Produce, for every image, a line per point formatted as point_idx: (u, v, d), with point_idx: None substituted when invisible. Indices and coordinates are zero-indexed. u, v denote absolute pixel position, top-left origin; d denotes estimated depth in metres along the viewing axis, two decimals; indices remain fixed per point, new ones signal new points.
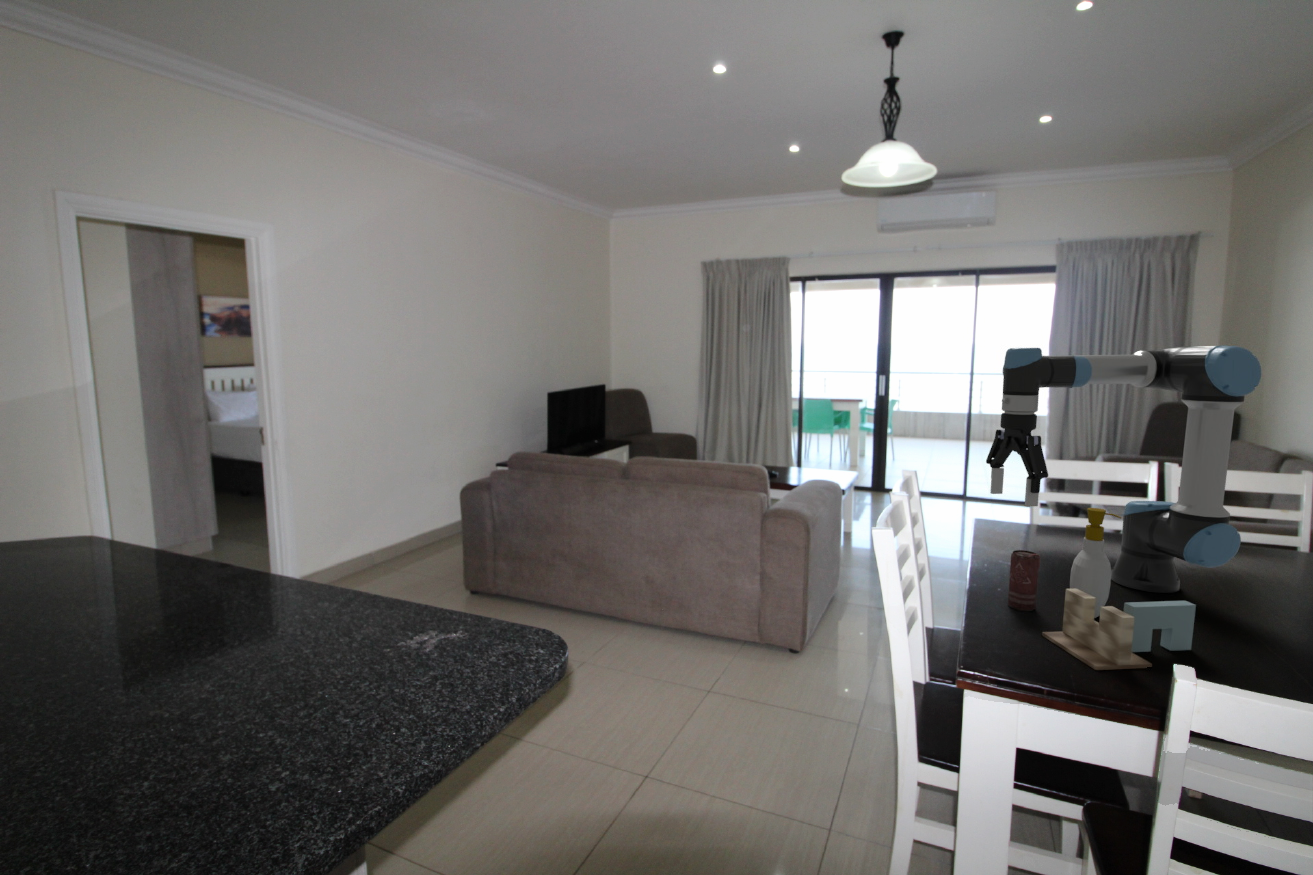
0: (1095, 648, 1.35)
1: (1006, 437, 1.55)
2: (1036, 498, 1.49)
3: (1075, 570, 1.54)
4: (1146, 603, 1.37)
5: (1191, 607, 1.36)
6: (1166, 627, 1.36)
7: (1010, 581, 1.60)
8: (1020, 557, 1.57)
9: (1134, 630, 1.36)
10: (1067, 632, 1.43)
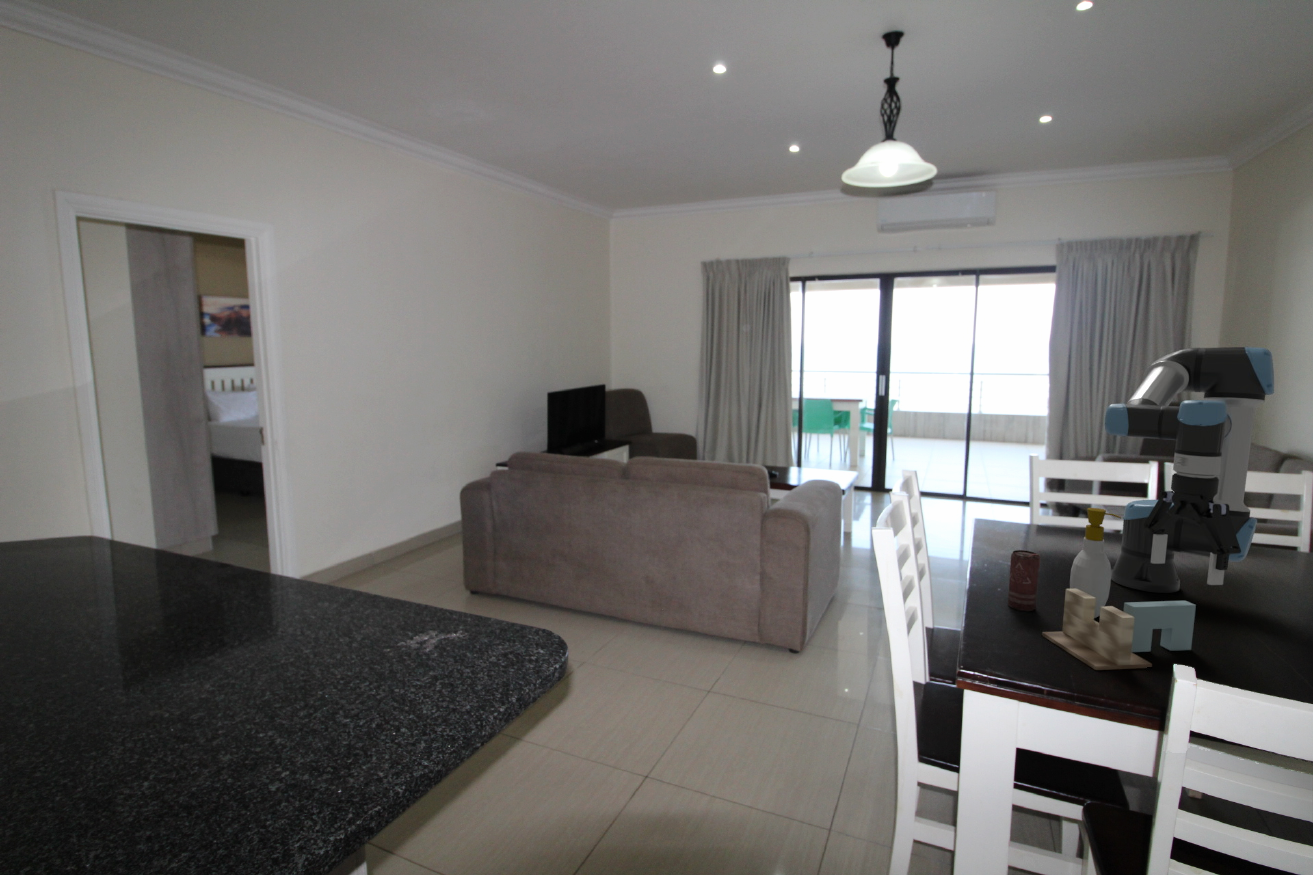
0: (1095, 648, 1.35)
1: (1178, 502, 1.35)
2: (1222, 575, 1.29)
3: (1075, 570, 1.54)
4: (1146, 603, 1.37)
5: (1191, 607, 1.36)
6: (1166, 627, 1.36)
7: (1010, 581, 1.60)
8: (1020, 557, 1.57)
9: (1134, 630, 1.36)
10: (1067, 632, 1.43)
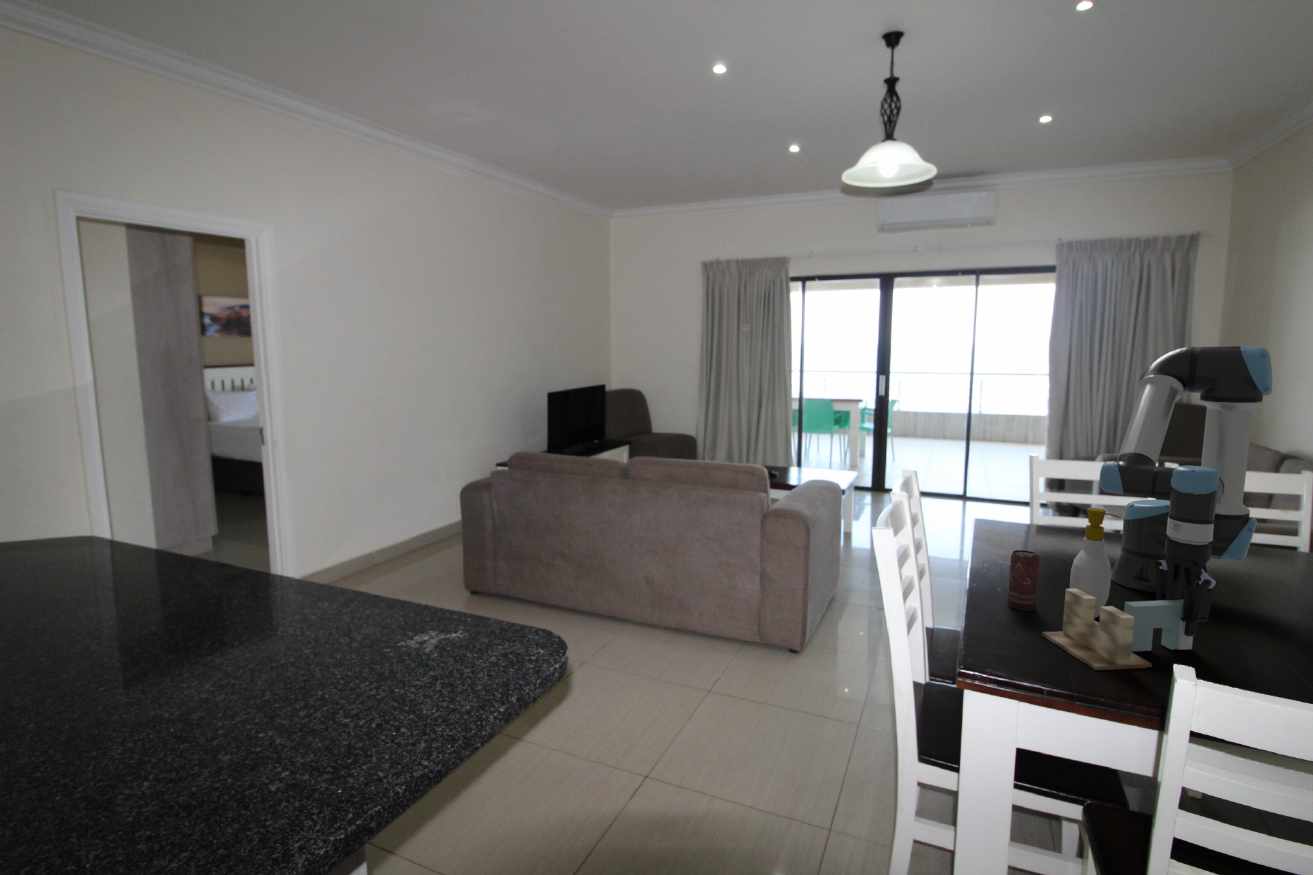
0: (1095, 648, 1.35)
1: (1172, 565, 1.37)
2: (1190, 640, 1.36)
3: (1075, 570, 1.54)
4: (1147, 602, 1.37)
5: None
6: (1167, 626, 1.36)
7: (1010, 581, 1.60)
8: (1020, 557, 1.57)
9: (1135, 629, 1.36)
10: (1067, 632, 1.43)
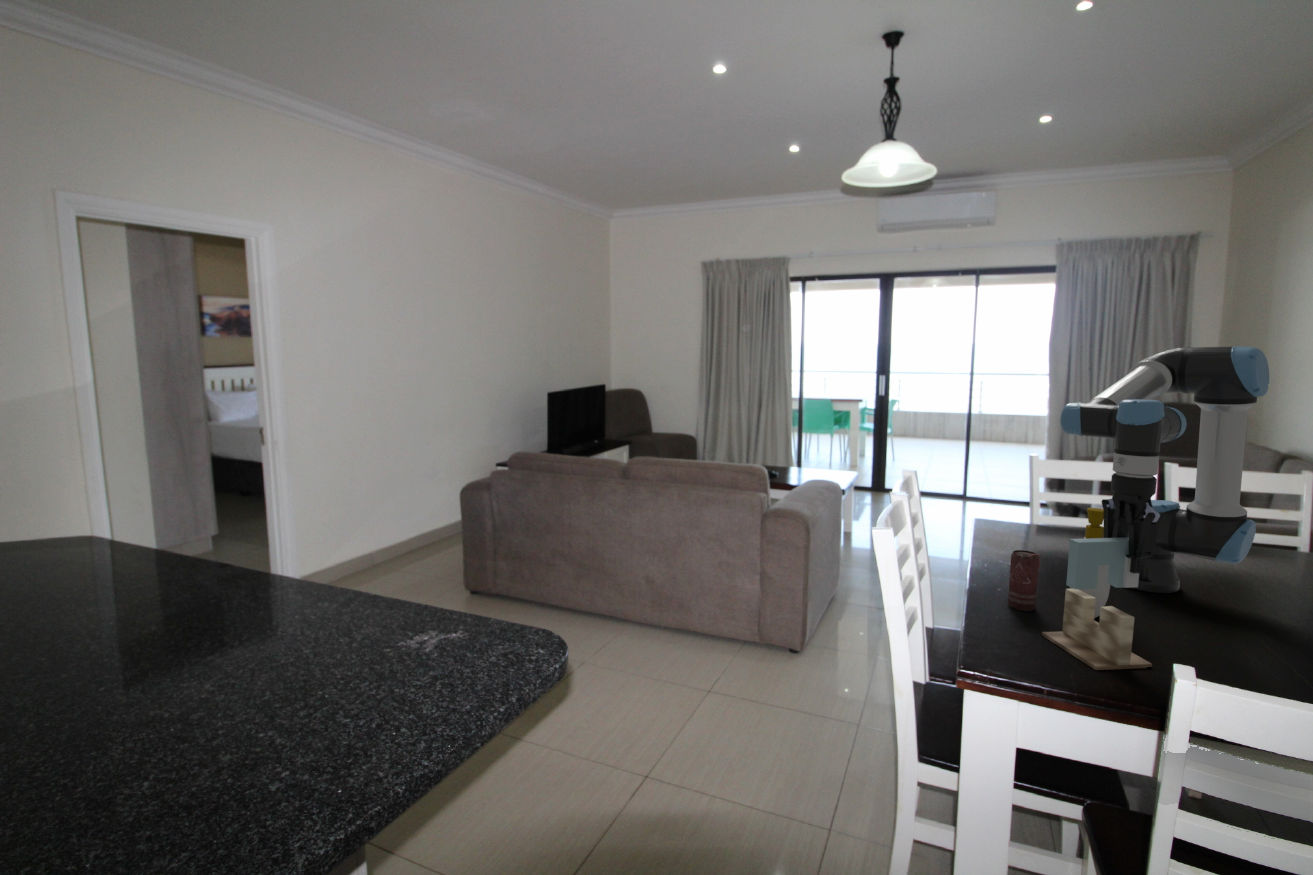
0: (1095, 648, 1.35)
1: (1118, 502, 1.34)
2: (1136, 578, 1.33)
3: None
4: (1092, 539, 1.34)
5: None
6: (1112, 563, 1.33)
7: (1010, 581, 1.60)
8: (1020, 557, 1.57)
9: (1079, 566, 1.33)
10: (1067, 632, 1.43)
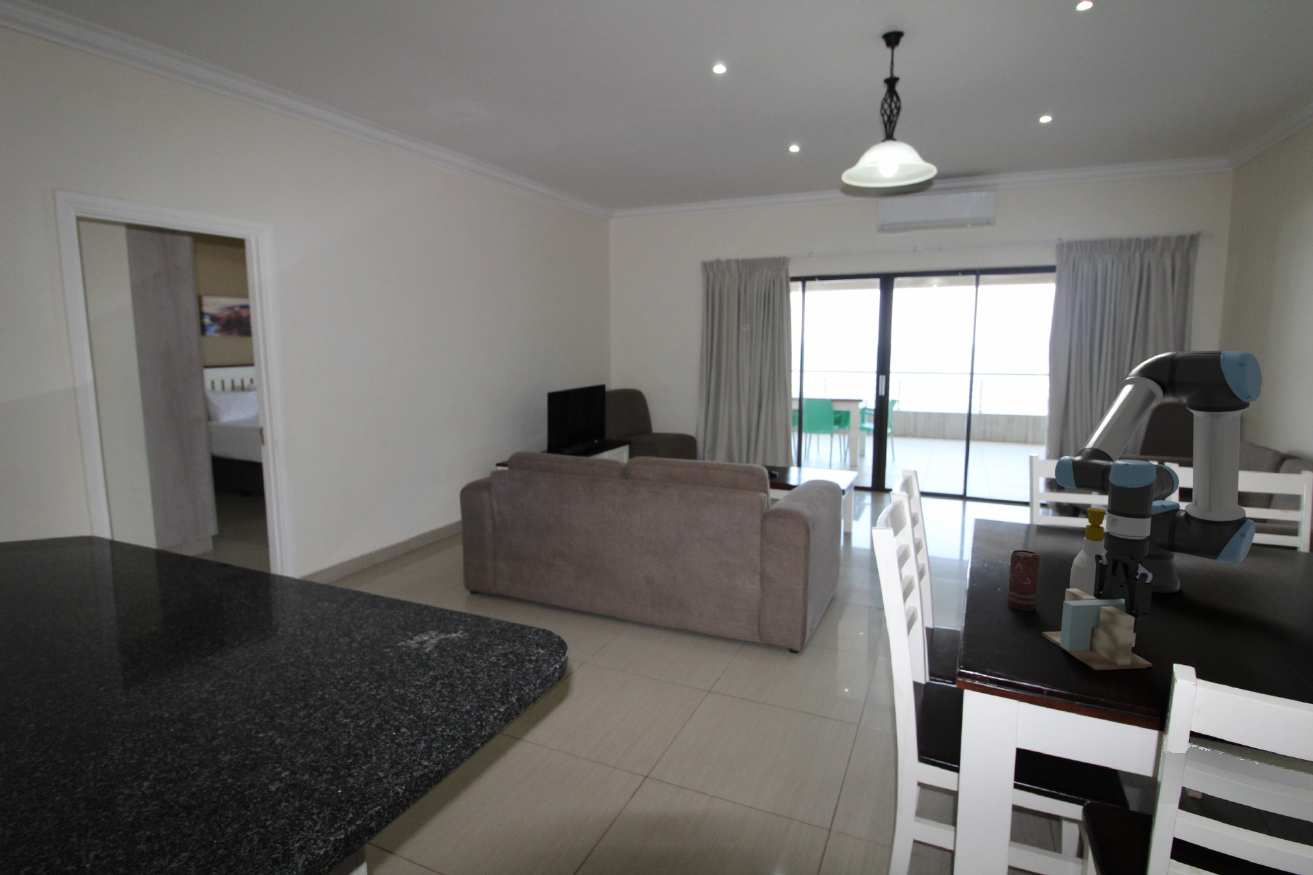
0: (1095, 648, 1.35)
1: (1111, 560, 1.36)
2: (1133, 638, 1.34)
3: (1075, 570, 1.54)
4: (1085, 601, 1.36)
5: None
6: None
7: (1010, 581, 1.60)
8: (1020, 557, 1.57)
9: (1073, 629, 1.35)
10: None
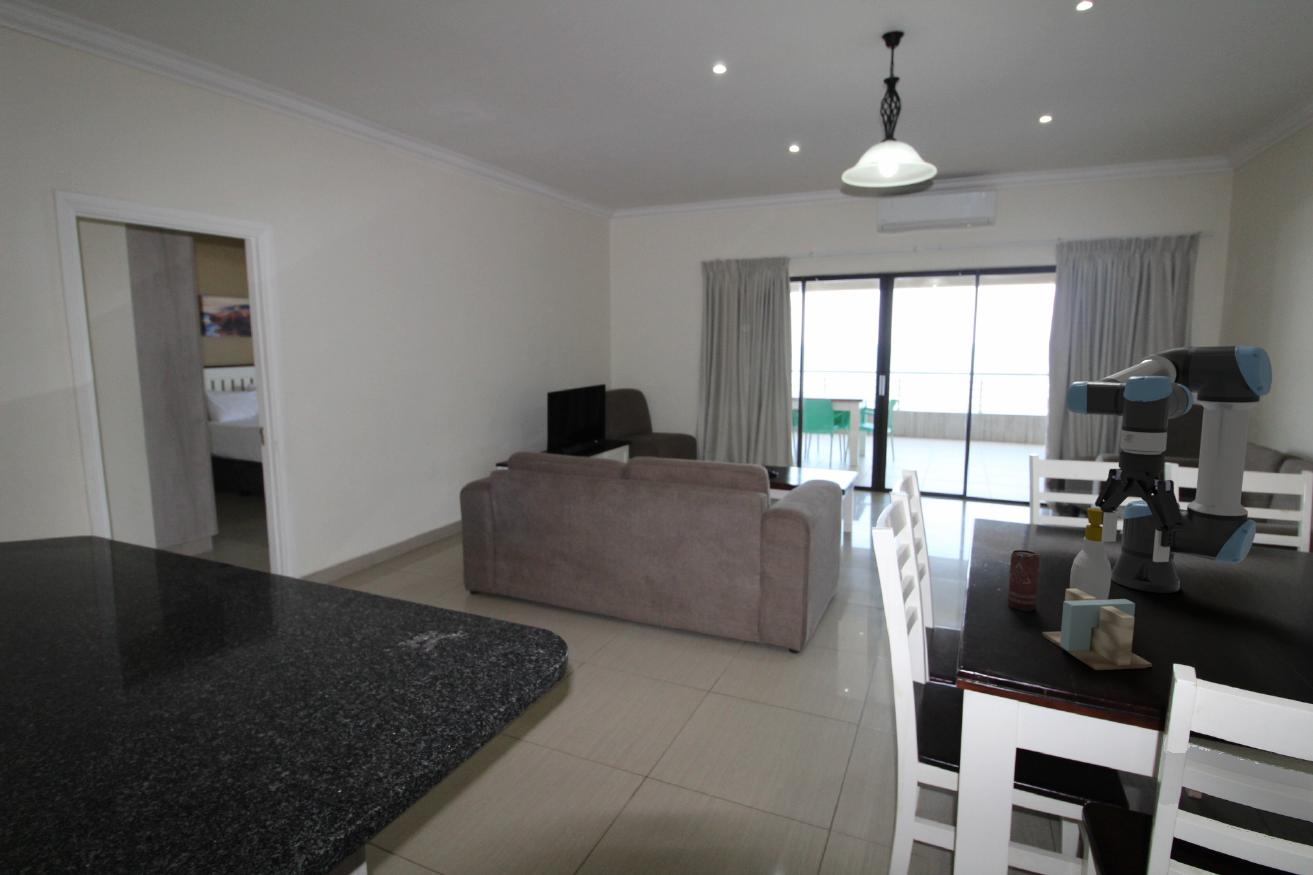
0: (1095, 648, 1.35)
1: (1126, 479, 1.34)
2: (1167, 552, 1.28)
3: (1075, 570, 1.54)
4: (1085, 601, 1.36)
5: (1130, 606, 1.35)
6: None
7: (1010, 581, 1.60)
8: (1020, 557, 1.57)
9: (1073, 629, 1.35)
10: None
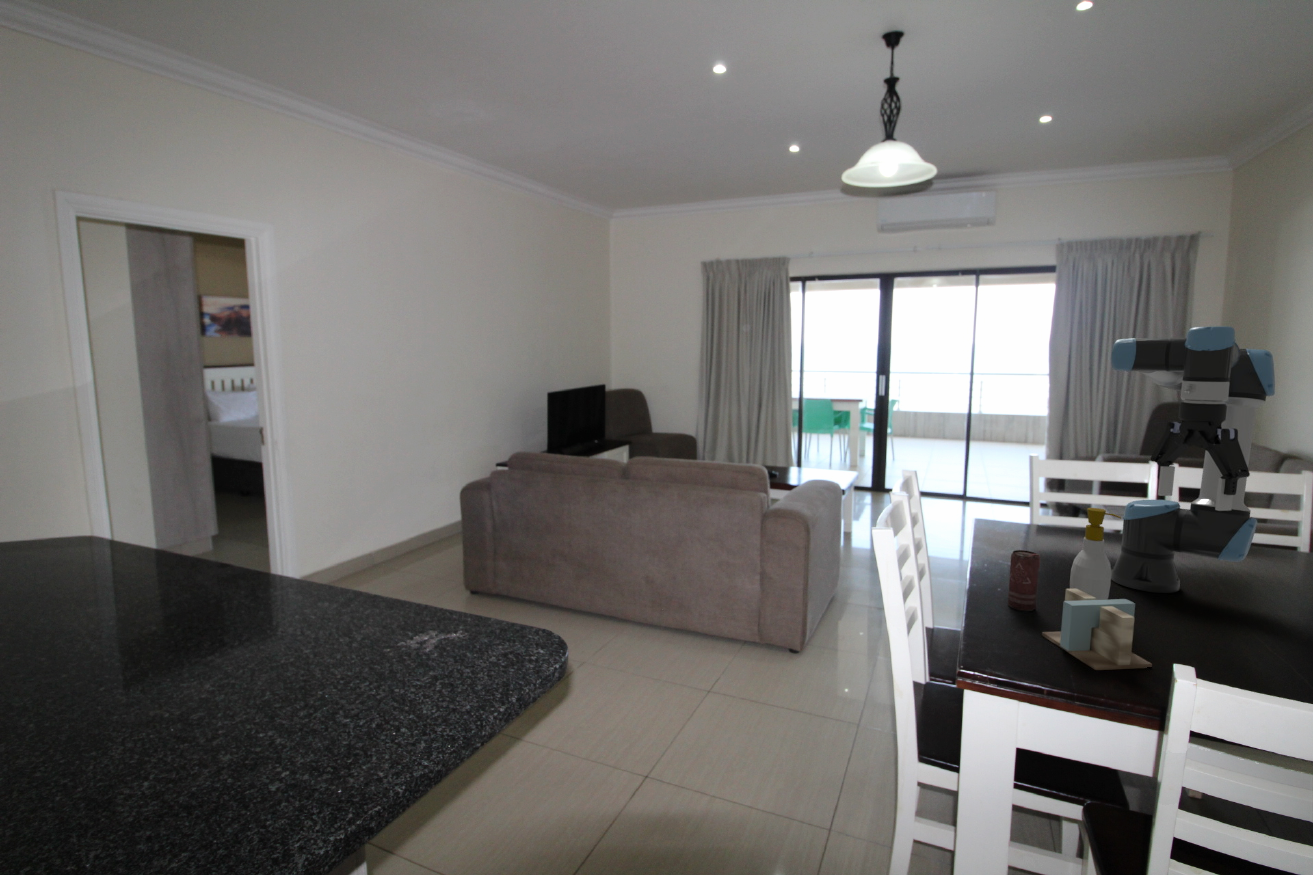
0: (1095, 648, 1.35)
1: (1186, 430, 1.34)
2: (1230, 501, 1.28)
3: (1075, 570, 1.54)
4: (1085, 601, 1.36)
5: (1130, 606, 1.35)
6: None
7: (1010, 581, 1.60)
8: (1020, 557, 1.57)
9: (1073, 629, 1.35)
10: None
